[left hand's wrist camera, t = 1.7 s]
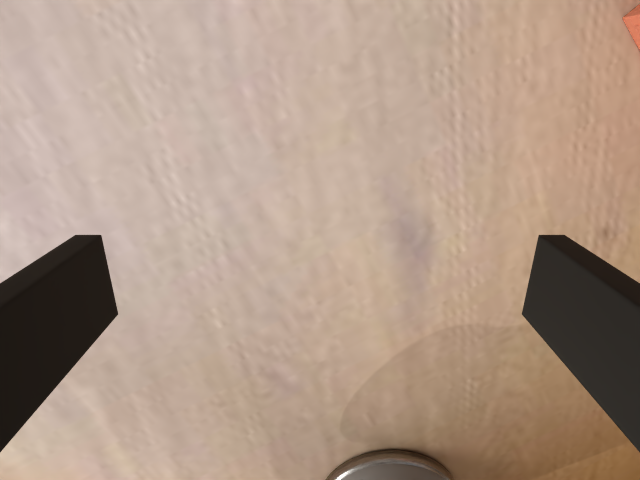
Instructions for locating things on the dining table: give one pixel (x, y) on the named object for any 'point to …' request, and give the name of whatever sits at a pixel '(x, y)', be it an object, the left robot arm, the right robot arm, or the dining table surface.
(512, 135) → the dining table surface
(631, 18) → the chest
